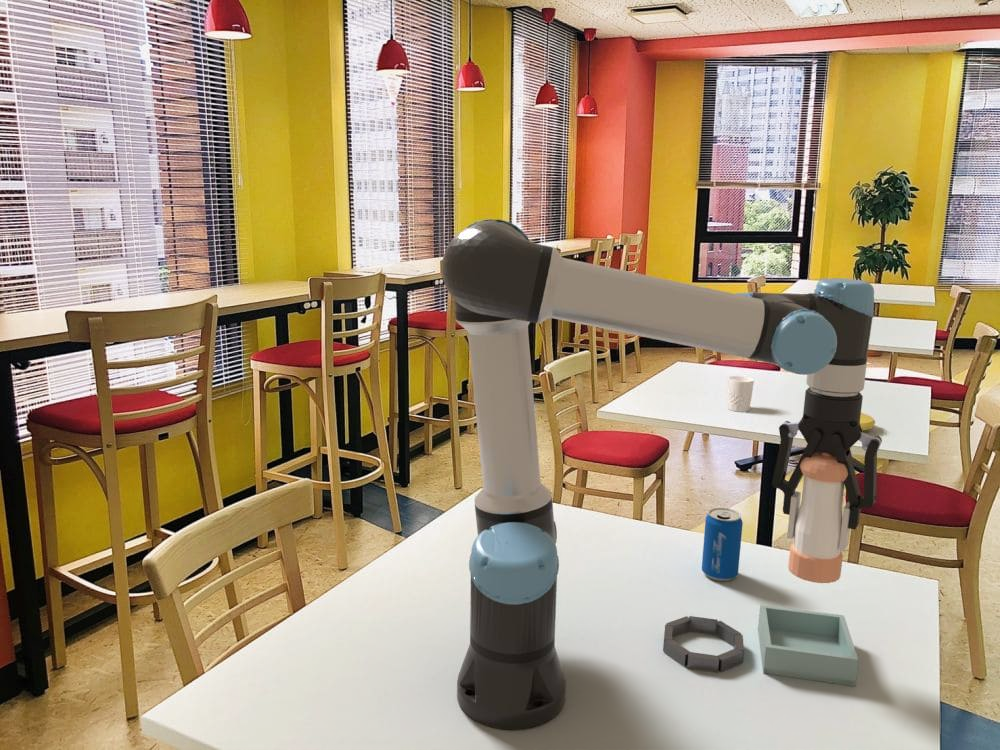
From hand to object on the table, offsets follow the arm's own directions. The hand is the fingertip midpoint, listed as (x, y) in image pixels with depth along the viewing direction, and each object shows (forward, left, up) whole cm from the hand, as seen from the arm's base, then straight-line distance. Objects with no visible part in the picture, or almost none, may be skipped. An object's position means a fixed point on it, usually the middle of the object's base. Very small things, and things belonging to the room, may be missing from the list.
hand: (817, 540), depth 120 cm
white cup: (+142, +4, -19) cm, 143 cm away
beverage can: (+24, +12, -19) cm, 33 cm away
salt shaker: (0, 0, -5) cm, 5 cm away
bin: (0, 0, -19) cm, 19 cm away
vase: (+130, -26, -19) cm, 134 cm away
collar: (-2, +15, -19) cm, 24 cm away
